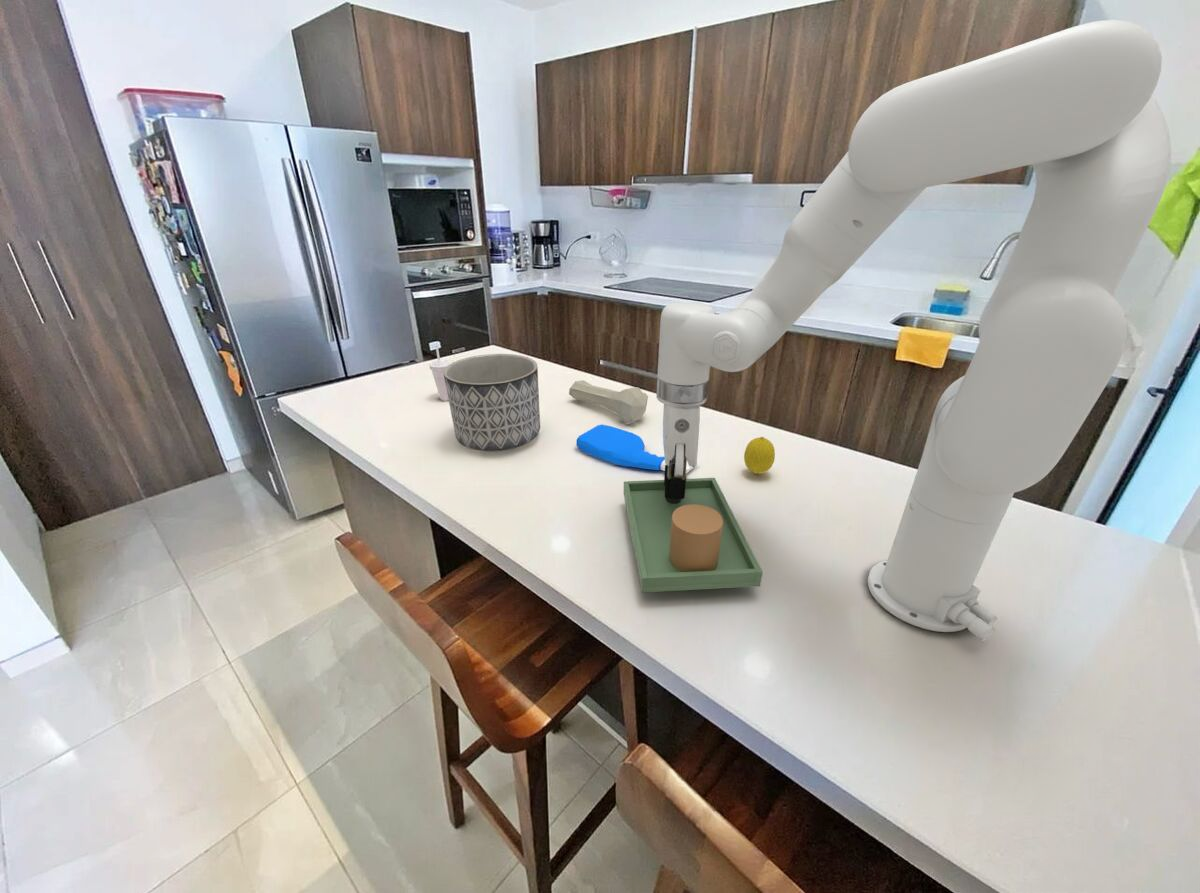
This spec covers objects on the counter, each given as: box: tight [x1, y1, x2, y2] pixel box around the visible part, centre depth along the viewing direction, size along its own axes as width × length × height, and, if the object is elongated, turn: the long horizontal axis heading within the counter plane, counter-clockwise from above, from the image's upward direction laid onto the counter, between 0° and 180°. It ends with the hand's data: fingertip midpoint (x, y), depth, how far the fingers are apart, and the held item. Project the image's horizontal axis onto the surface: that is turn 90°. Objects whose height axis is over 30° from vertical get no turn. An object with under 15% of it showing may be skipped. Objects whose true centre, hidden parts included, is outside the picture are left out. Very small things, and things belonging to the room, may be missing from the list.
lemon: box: [743, 436, 776, 475], centre depth 94 cm, size 6×6×8 cm
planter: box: [443, 353, 541, 452], centre depth 107 cm, size 19×19×16 cm
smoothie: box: [428, 346, 455, 402], centre depth 129 cm, size 6×6×14 cm
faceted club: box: [568, 379, 649, 425], centre depth 123 cm, size 9×8×25 cm
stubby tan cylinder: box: [669, 504, 723, 572], centre depth 69 cm, size 7×7×7 cm
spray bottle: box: [575, 424, 695, 474], centre depth 102 cm, size 3×11×24 cm
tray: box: [623, 466, 763, 593], centre depth 75 cm, size 24×16×8 cm, turn 3°
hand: (673, 491), depth 83 cm, fingers closed on tray, 2 cm apart
